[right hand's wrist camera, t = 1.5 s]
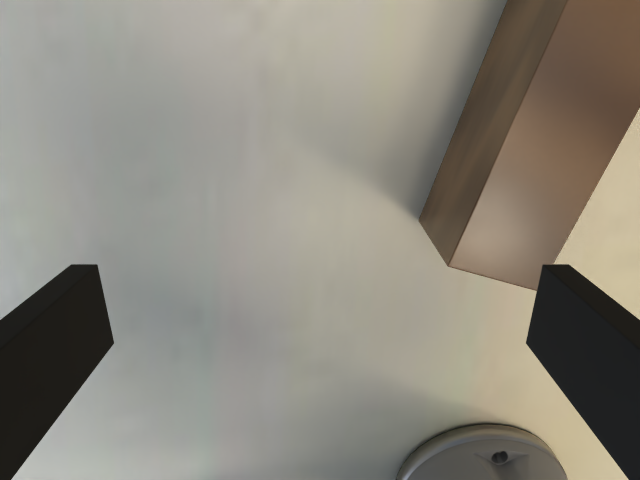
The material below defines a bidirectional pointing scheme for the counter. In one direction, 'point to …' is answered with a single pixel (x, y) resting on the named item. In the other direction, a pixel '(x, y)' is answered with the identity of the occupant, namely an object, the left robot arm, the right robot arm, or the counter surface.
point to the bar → (535, 135)
